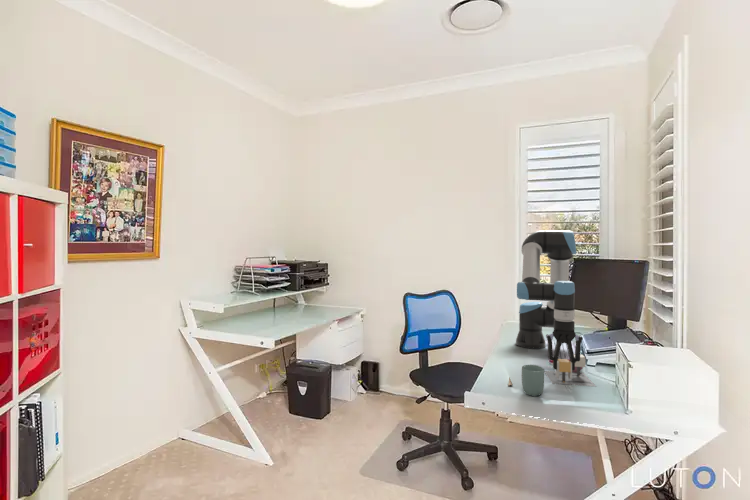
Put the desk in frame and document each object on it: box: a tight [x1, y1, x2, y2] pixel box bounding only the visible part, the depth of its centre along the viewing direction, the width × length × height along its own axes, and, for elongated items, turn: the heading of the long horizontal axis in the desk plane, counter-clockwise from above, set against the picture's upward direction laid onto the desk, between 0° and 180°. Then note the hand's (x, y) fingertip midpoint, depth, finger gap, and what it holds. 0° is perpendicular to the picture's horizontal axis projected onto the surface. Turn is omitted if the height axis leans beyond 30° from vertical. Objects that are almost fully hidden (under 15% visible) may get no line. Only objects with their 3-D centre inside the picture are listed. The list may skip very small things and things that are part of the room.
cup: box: [521, 364, 545, 397], centre depth 152 cm, size 8×8×10 cm
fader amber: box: [558, 358, 571, 381], centre depth 162 cm, size 4×4×8 cm
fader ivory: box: [573, 353, 586, 375], centre depth 168 cm, size 4×4×8 cm
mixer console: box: [544, 370, 597, 387], centre depth 165 cm, size 16×16×1 cm
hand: (563, 377), depth 162 cm, fingers closed on fader amber, 4 cm apart
